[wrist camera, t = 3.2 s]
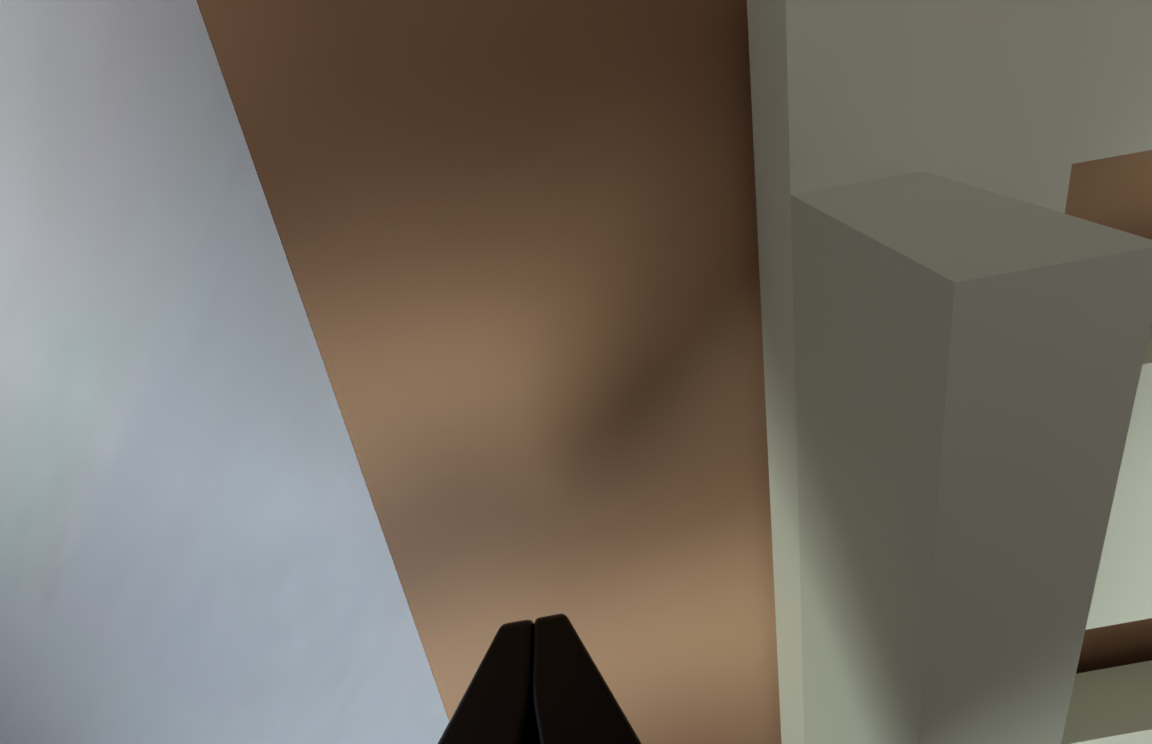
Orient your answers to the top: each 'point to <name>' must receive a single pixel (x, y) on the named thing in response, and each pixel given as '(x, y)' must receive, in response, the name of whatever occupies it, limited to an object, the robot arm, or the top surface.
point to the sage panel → (952, 367)
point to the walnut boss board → (555, 321)
